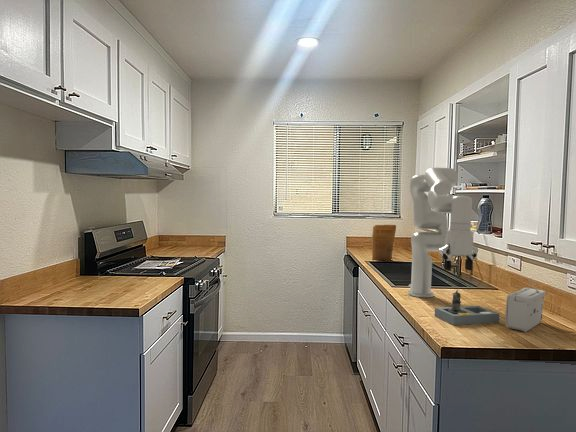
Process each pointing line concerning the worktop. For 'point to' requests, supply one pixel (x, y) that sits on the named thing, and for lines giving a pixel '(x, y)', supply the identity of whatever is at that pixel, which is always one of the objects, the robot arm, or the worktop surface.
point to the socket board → (467, 315)
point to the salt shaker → (456, 304)
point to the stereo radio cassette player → (524, 308)
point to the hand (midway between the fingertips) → (458, 270)
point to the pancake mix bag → (383, 241)
